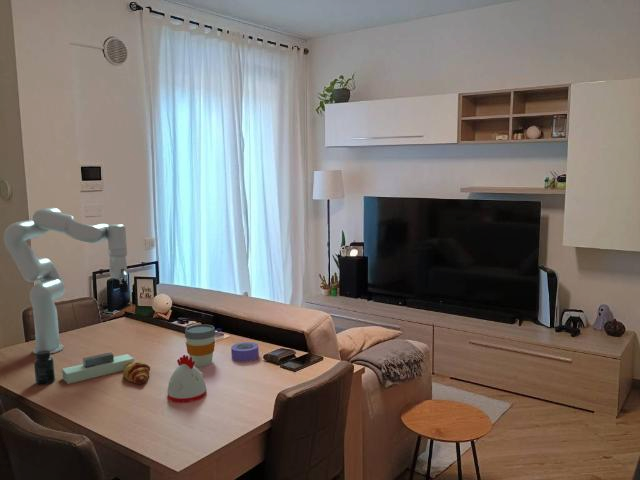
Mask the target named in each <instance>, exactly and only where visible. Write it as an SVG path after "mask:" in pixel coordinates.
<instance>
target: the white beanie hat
mask: <svg viewBox="0 0 640 480" xmlns="http://www.w3.org/2000/svg"><path fill="white" fill-rule="evenodd" d="M176 361H177V365H178V366H177V367H175V370H174V371H173V373H172V374H171V376H170V379H169V381H168V387H167V399H168V400H169V401H171V402H173V403H178V404H179V403H180V404H183V403H185V404H186V403H191V402H192V403H193V402H195V401H200V400H201V399H203V398H205V396H207V393H208V392H207V386H206V382H205V375H204V373H203V372H202V371H200V370H199V369H198V367H196V366H194V363H195V361H193V362H192V357H190V358H189V355H185V354H184V355H182V356H180V357H179V358H178V359H177V360H176Z"/></svg>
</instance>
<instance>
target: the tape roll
mask: <svg viewBox="0 0 640 480" xmlns="http://www.w3.org/2000/svg"><path fill="white" fill-rule="evenodd" d="M230 348H231V349H230V350H231V360H233V361H235V362H240V363H241V362H242V363H244V362H245V363H247V362H252V361H255V360H257V359H258V358H259V355H260V353H259V344H258V343H255V342H252V341H251V342H250V341H248V342H247V341H245V342H238V343H237V342H236V343H235V344H233V345H231V347H230Z"/></svg>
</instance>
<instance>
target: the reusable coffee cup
mask: <svg viewBox="0 0 640 480" xmlns="http://www.w3.org/2000/svg"><path fill="white" fill-rule="evenodd" d="M215 335H216V329H215V326H214V325H211V324H194V325H190V326H188V327H186V328H185V331H184V338H185V340H186V341H185V345H186V351H187V355H188V358H190V357H192V362H193V361H195V363H194V366H195V367H196V368H198V367H207V366H209V365H211V364H212V363H213V355H214V354H213V353H214V352H215V343H216V339H215Z"/></svg>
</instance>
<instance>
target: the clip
mask: <svg viewBox="0 0 640 480" xmlns="http://www.w3.org/2000/svg"><path fill="white" fill-rule="evenodd" d="M114 357H115V356H114V354H113V353H112V352H106V353H101V354H95V355H92V356H88V357H82V364H83V366H84V367H85V368H88V367H93V366H96V365H100V364H106V363H110V362H114Z"/></svg>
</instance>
